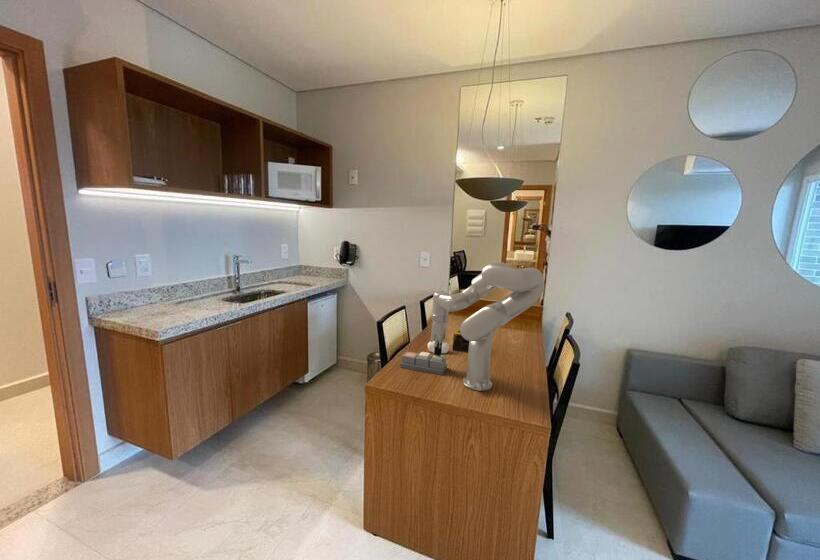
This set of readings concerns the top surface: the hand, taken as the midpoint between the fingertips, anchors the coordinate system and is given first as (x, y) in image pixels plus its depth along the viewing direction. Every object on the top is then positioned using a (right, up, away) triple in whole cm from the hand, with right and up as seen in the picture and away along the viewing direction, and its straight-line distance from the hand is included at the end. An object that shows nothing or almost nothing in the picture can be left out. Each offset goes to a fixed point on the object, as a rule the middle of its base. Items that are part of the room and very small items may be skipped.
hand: (437, 354), depth 159 cm
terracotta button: (-13, -4, +5) cm, 15 cm away
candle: (+16, -4, +31) cm, 35 cm away
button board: (-7, -7, +3) cm, 10 cm away
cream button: (-6, -3, +3) cm, 8 cm away
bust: (+2, -4, +25) cm, 26 cm away
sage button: (0, -4, 0) cm, 4 cm away
